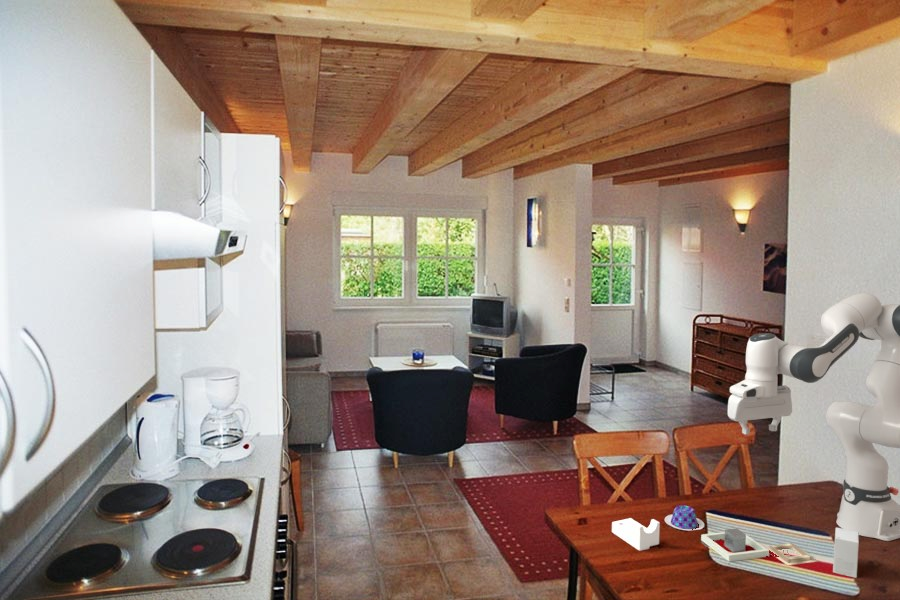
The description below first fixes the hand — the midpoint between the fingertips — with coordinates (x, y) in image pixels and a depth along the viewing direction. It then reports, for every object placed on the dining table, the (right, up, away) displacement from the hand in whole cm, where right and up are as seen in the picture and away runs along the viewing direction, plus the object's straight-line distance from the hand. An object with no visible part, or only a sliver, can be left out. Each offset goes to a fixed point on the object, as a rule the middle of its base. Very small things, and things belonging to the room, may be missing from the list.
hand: (759, 432), depth 198 cm
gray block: (-11, -32, -8) cm, 35 cm away
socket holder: (+3, -34, -11) cm, 35 cm away
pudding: (-19, -32, +10) cm, 38 cm away
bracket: (-38, -33, 0) cm, 50 cm away
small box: (+14, -35, -19) cm, 42 cm away
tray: (-11, -33, -7) cm, 36 cm away
